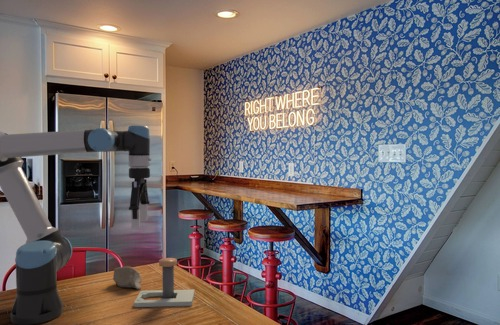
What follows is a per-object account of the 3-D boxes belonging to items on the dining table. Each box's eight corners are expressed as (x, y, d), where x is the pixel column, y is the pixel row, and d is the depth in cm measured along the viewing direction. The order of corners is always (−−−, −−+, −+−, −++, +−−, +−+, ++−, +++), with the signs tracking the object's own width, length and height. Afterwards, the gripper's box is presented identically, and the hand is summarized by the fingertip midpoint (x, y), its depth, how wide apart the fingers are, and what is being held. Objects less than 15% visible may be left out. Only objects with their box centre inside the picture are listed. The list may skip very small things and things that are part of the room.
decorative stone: (133, 292, 151) (133, 271, 151) (110, 285, 159) (109, 265, 159) (150, 286, 158) (149, 266, 158) (126, 279, 166) (126, 260, 166)
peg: (157, 303, 139) (157, 262, 139) (160, 296, 146) (160, 258, 145) (176, 303, 140) (175, 262, 139) (178, 296, 146) (178, 257, 146)
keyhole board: (133, 307, 136) (133, 302, 136) (141, 294, 148) (141, 290, 148) (191, 305, 137) (191, 301, 137) (194, 293, 149) (194, 289, 149)
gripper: (142, 168, 134) (143, 230, 134) (155, 166, 158) (156, 218, 159) (119, 168, 133) (120, 231, 134) (136, 166, 158) (137, 218, 159)
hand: (139, 224), depth 146 cm, fingers open, 13 cm apart
